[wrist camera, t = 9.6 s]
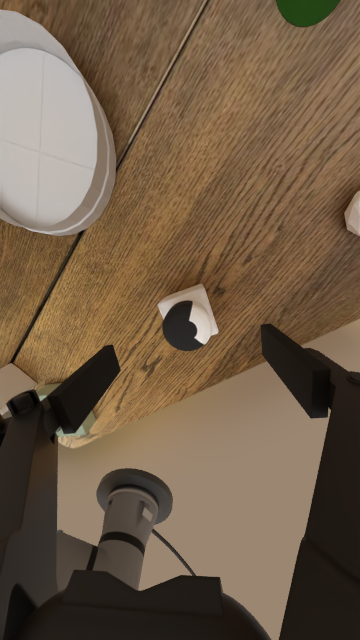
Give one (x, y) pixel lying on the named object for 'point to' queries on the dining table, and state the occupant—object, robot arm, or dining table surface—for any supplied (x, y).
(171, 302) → the medicine bottle
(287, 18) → the candle
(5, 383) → the milk carton
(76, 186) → the dish
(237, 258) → the dining table surface
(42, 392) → the push button box
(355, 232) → the ornament
